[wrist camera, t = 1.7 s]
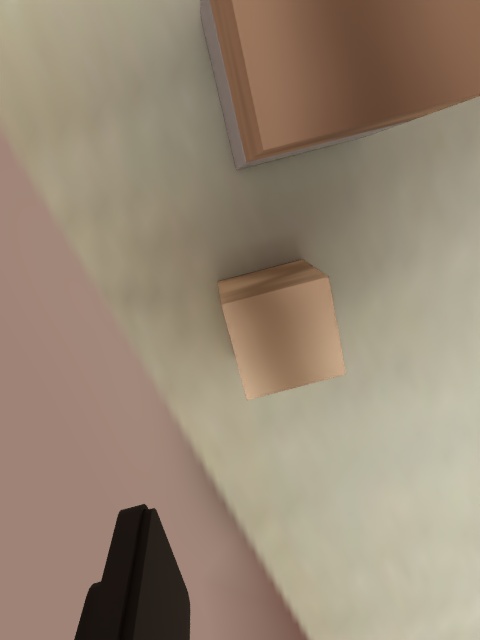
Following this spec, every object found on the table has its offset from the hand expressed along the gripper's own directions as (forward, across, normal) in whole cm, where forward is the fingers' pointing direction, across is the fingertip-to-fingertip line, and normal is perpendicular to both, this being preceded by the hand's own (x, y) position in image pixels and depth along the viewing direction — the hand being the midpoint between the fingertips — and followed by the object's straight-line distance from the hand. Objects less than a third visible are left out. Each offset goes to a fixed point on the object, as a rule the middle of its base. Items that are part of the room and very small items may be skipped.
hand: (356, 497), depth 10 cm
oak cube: (+15, 0, 0) cm, 15 cm away
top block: (+10, -4, -12) cm, 16 cm away
